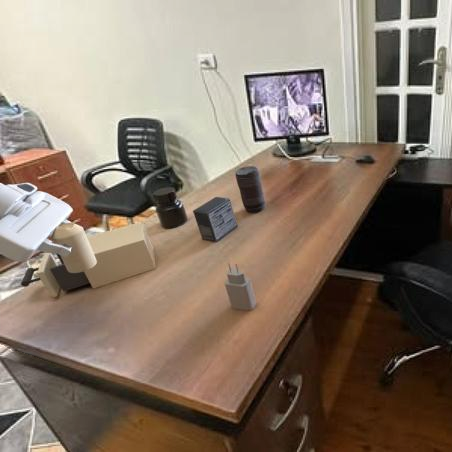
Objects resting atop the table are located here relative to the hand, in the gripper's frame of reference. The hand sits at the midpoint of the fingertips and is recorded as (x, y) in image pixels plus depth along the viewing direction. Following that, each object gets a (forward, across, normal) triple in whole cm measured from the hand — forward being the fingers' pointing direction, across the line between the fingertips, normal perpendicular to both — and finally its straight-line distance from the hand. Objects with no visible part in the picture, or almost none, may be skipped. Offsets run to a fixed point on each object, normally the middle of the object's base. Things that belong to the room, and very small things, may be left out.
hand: (76, 244), depth 74 cm
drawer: (+4, +18, +22) cm, 29 cm away
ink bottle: (+20, +45, +6) cm, 50 cm away
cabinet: (+13, +21, +14) cm, 28 cm away
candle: (+4, 0, +4) cm, 6 cm away
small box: (+31, +30, -6) cm, 43 cm away
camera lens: (+39, +43, -15) cm, 60 cm away
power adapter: (+35, -8, -10) cm, 37 cm away
